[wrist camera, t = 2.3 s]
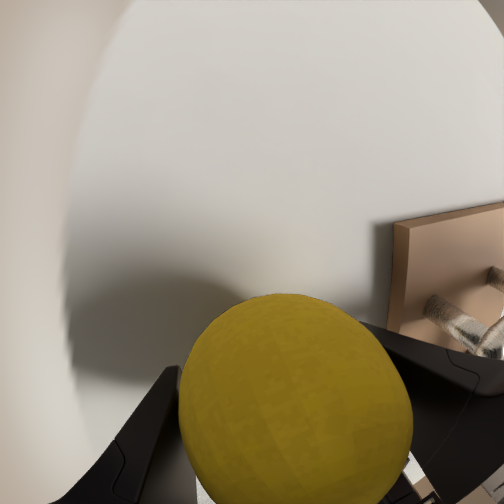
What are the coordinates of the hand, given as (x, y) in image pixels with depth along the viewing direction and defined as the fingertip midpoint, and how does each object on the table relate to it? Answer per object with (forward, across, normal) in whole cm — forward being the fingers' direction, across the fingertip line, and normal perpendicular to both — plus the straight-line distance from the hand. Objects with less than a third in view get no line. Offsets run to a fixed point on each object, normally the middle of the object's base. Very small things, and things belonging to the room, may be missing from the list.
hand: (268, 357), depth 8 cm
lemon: (+2, 0, 0) cm, 2 cm away
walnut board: (+2, -12, +8) cm, 14 cm away
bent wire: (+2, -11, +4) cm, 12 cm away
